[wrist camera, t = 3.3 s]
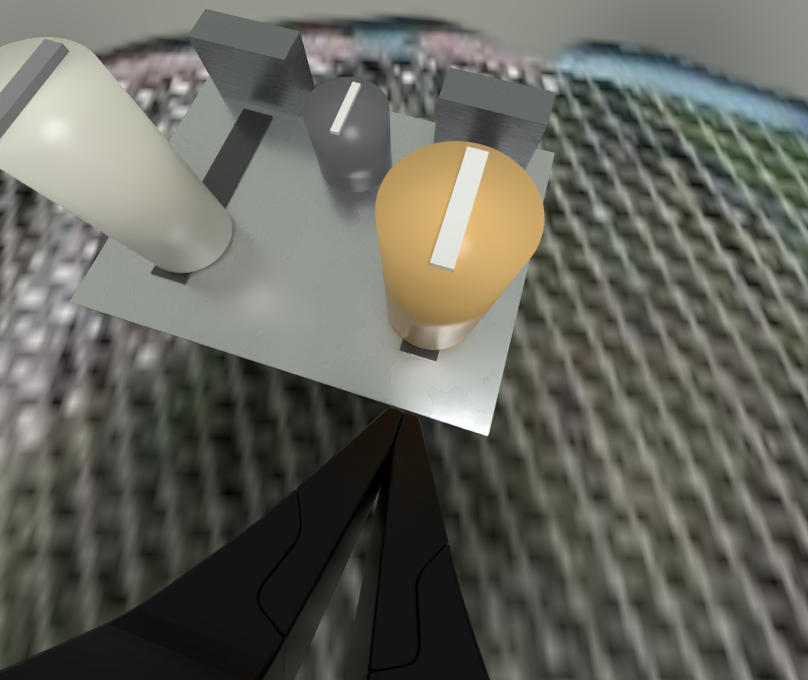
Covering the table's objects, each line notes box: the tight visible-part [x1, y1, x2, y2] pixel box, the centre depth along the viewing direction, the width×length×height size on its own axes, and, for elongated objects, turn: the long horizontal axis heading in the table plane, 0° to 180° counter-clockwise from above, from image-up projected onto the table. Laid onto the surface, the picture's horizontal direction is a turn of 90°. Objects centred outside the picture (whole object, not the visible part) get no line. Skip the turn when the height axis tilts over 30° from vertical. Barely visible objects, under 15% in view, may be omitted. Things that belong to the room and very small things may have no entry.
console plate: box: [70, 9, 556, 436], centre depth 15 cm, size 16×21×4 cm
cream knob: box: [0, 37, 232, 273], centre depth 12 cm, size 4×4×7 cm
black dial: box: [303, 77, 392, 192], centre depth 16 cm, size 4×4×3 cm
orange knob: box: [375, 141, 544, 350], centre depth 11 cm, size 4×4×7 cm
